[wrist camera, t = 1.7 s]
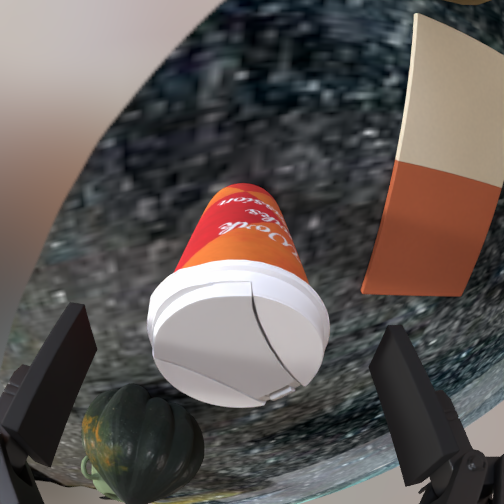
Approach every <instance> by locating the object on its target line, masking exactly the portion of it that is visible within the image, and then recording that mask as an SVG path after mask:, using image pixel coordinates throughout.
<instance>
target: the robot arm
mask: <svg viewBox="0 0 504 504" xmlns="http://www.w3.org/2000/svg"><path fill="white" fill-rule="evenodd" d="M96 351H97V347H96V343H95V340H94V337H93V334H92V330H91V327H90V323H89V320H88V316H87V313H86V309H85V305H84V304H78V303H71V302H70V303H69V304H68V306H67V307H66V309H65V310H64V312H63V313H62V315H61V317H60V318H59V320H58V321H57V323H56V324H55V326H54V328H53V329H52V331H51V332H50V334H49V336H48V337H47V339H46V341H45V342H44V344H43V346H42V347H41V349H40V351H39V352H38V354H37V356H36V357H35V359H34V361H33V363H32V364H31V366H27V365H24V364H23V365H22V366H20V367H19V368H18V369H17V370H16V371H15V372H14V373H13V375H12V377H11V378H10V380H9V384H7V386H6V387H5V389H4V392H3V393H2V395H1V397H0V504H44V502H43V500H42V497H41V495H40V492H39V490H38V488H37V485H36V483H35V480H34V477H33V475H32V472H31V469H30V467H29V464H28V463H27V461H26V459H27V457H28V455H29V456H30V457H31V458H32V459H33V460H34V461H35V462H37V463H40V464H42V465H45V466H47V467H50V468H51V465H52V462H53V459H54V456H55V453H56V450H57V447H58V445H59V442H60V439H61V436H62V434H63V431H64V428H65V425H66V423H67V420H68V418H69V415H70V412H71V410H72V407H73V405H74V402H75V400H76V397H77V395H78V393H79V390H80V388H81V385H82V383H83V381H84V378H85V376H86V374H87V371H88V369H89V367H90V365H91V362H92V360H93V358H94V356H95V353H96ZM369 370H370V373H371V375H372V378H373V381H374V384H375V387H376V390H377V393H378V396H379V399H380V402H381V405H382V408H383V411H384V415H385V418H386V421H387V424H388V427H389V431H390V434H391V437H392V441H393V444H394V447H395V451H396V454H397V458H398V461H399V465H400V468H401V472H402V475H403V479H404V483H405V486H411V485H414V484H418V483H421V482H423V481H424V480H425V479H427V478H428V477H430V480H431V482H430V483H428V484H427V485H426V486H425V487H423V488H422V489H421V490H420V491H419V492H418V493H419V494H421V493H422V492H423V491H425V493H424V494H423V497H422V499H421V501H420V503H419V504H504V454H503V455H502V456H501V457H485V456H484V454H483V453H482V452H480V451H478V450H473V448H472V446H471V445H470V442H469V440H468V437H467V435H466V432H465V430H464V428H463V426H462V423H461V421H460V419H458V417H459V416H458V414H457V412H456V411H455V408H454V406H453V403H452V401H451V399H450V398H449V397H448V396H447V395H446V393H445V392H444V391H443V390H439V391H435V390H434V388H433V386H432V384H431V382H430V379H429V377H428V375H427V373H426V371H425V369H424V367H423V365H422V363H421V361H420V359H419V357H418V355H417V353H416V351H415V349H414V347H413V345H412V343H411V341H410V339H409V337H408V335H407V333H406V331H405V329H404V328H403V326H402V325H388V326H387V328H386V331H385V333H384V335H383V337H382V340H381V342H380V344H379V346H378V348H377V350H376V353H375V355H374V357H373V359H372V361H371V363H370V365H369ZM492 494H493V498H492Z"/></svg>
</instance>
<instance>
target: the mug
mask: <svg viewBox="0 0 504 504" xmlns="http://www.w3.org/2000/svg"><path fill="white" fill-rule="evenodd" d="M88 460H89V458H88V456H86V457H85V458H84V459H83V460H82V464H81V470H82V473H83V475H84V476H85V477H86V478H88V479H90V480H93V483H94V485H95V487H96V489H97V490H98V491H100V492H101V493H102V494H104V495H105V496H107V497H109V498H111V499H114V500H117V501H120V502H123V501H122V500H121V499H119V497H118V496H117V495H116V494H115V493H114V492H113V491H112V489H111V488H110V487H109V486H108V485H107V483H106V482H105V481H104V480H103V478H102V477H101V476H100V474H99V473H98V472H97V471H96V469H95V468H94V467H93V465H92V474H91V475H89V474H88V473H87V470H86V463H87V461H88Z"/></svg>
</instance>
